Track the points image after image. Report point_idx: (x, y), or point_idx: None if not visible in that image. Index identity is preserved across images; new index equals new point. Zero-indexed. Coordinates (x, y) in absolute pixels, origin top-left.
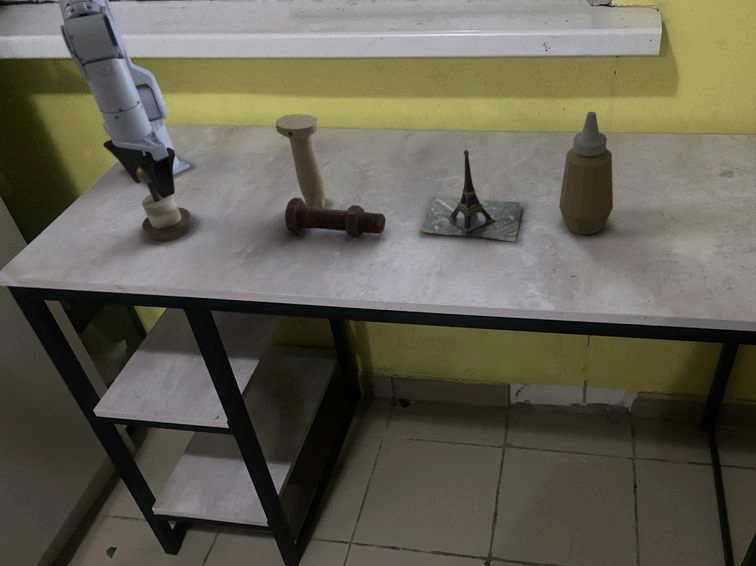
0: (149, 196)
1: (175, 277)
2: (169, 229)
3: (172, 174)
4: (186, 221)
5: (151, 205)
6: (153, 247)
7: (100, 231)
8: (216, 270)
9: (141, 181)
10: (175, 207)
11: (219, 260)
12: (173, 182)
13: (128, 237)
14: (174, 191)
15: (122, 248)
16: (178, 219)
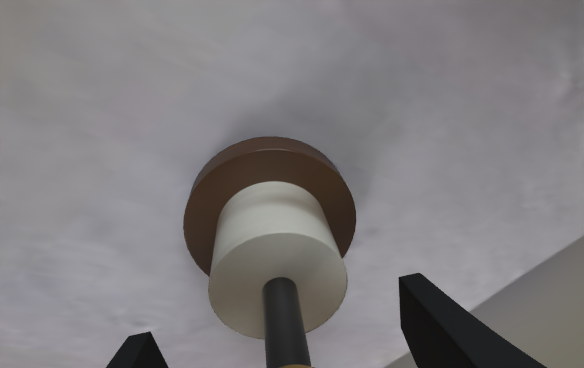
0: (224, 308)
1: (498, 264)
2: (341, 238)
3: (527, 355)
4: (339, 180)
5: (306, 317)
6: None
7: None
8: (574, 178)
9: (164, 363)
10: (318, 220)
11: (547, 154)
12: (465, 310)
13: None
14: (426, 278)
15: None
16: (317, 202)
